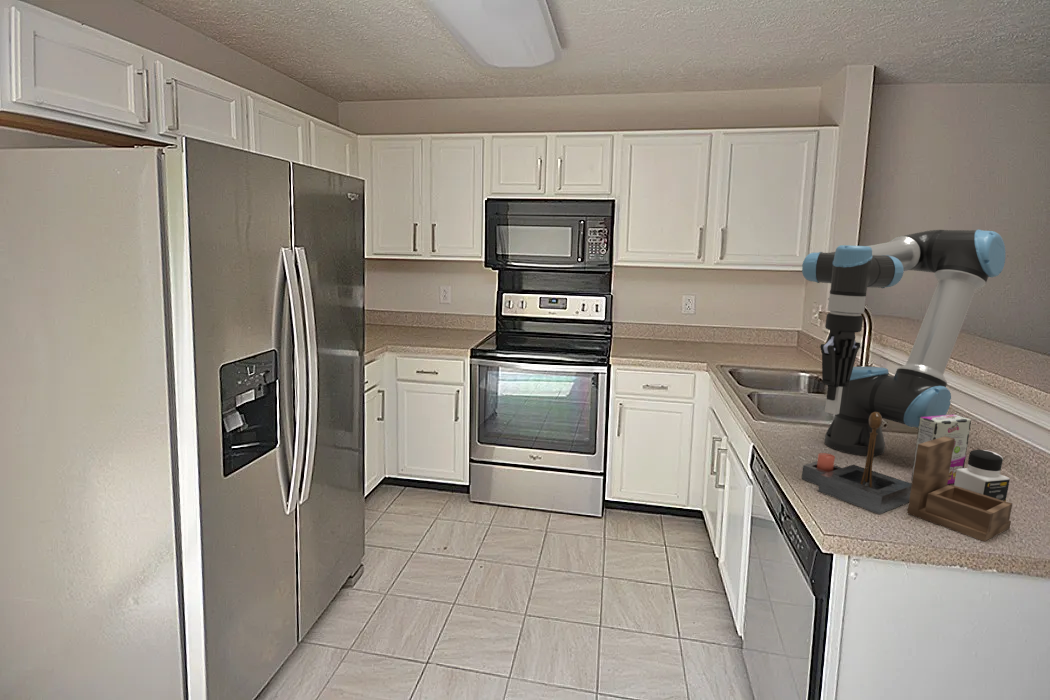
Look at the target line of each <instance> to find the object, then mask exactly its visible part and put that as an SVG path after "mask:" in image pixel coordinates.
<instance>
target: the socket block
mask: <svg viewBox="0 0 1050 700" xmlns="http://www.w3.org/2000/svg"><path fill="white" fill-rule="evenodd" d="M817 461H818V460H817ZM817 461H813V462H810V463H806V464H803V465H802V470H801V471H802V473H801V480H803V481H805V482H809V483H812V484H813V485H816V486H818V490H817V491H818V492H819V493H822V492H823V493H822V494H824V493H825V494H824V495H827V494H828V495H827V496H830V495H831V496H830V497H832V496H834V497H833V498H835V497H836V499H837V498H838V499H837V500H840V499H841V500H840V501H843V502H845V501H846V503H848V502H849V503H848V504H851V503H852V504H851V505H853V504H854V506H856V505H857V506H856V507H859V506H860V507H859V508H861V507H863V508H862V509H864V508H865V510H867V511H869V512H872V513H874V514H877V515H881V514H884V513H887V512H889V511H891V509H892V510H894V509H896V507H897V508H899V507H901V506H900V505H902V506H904V505H906V503H907V504H909V503H908V502H909V499H910V493H911V486H912V482H907V481H905V480H901V479H899V478H896V477H893V476H890V475H887V474H883V473H880V472H877V471H874V470H872V485H873V486H874V488H875V489H874V488H871V487H868V486H865V485H862V484H859V483H861V480H862V477H863V473H864V469H865V467H862V466H859V465H856V464H851V465H849V466H844V467H841V466H837V465H835V464H834V468H833V471H830V472H827V471H824V470H821V469H818V468H817ZM865 476H866V473H865ZM864 481H865V477H864V480H863V482H864ZM869 483H870V477H869ZM903 504H904V505H903ZM893 508H894V509H893Z"/></svg>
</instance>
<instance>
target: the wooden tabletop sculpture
mask: <svg viewBox="0 0 1050 700" xmlns="http://www.w3.org/2000/svg"><path fill="white" fill-rule="evenodd" d="M882 424H883V418H882V416H881V414H880V413H879V412H873V413H871V415H870V417H869V425H870V427H871V428H872V432H870V440H869V447H868V453H867V455H866V458H865V460H866V461H865V464H864V465H865V466H864V468H865V469H864V473H863V477H862V480H861V483H859V484H862V485H865V486H868V487H871V488H874V486H873V485H872V471H873V461H874V456H875V455H874V447H875V440H876V435H878V434H877V433H876V429H878V428H879V427H880V426H881V427H882ZM873 455H874V456H873ZM865 473H866V476H865ZM864 477H865V481H864V482H863V480H864ZM869 477H870V483H869ZM874 489H875V488H874Z"/></svg>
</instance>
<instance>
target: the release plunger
mask: <svg viewBox="0 0 1050 700" xmlns="http://www.w3.org/2000/svg"><path fill="white" fill-rule="evenodd" d="M835 460H836V456H835V455H833V454H831V453H828V452H827V453H826V452H819V453H818V454H817V468H818V469H821V470H824V471H827V472H830V471H833V468H834V465H835Z"/></svg>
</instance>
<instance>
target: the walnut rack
mask: <svg viewBox="0 0 1050 700" xmlns="http://www.w3.org/2000/svg"><path fill="white" fill-rule="evenodd" d="M954 441H955V439H954V438H950V437H946V436H944V437H941V438H937V439H934V440H931V441H927V442H924V443H921V444H918V448H917V455H916V461H915V467H914V474H913V480H912V479H911V483H912V486H911V493H910V499H909V503H908V507H907V511H906V514H907V513H908V515H910V516H913V517H916V518H918V517H919V519H922V520H924V521H927V522H929V521H930V523H933V524H934V525H935V524H936V525H938V526H940V525H941V526H940V527H943V528H947V529H948V528H949V530H951V531H954V532H957V533H959V532H960V533H959V534H963V535H965V536H969V537H971V538H973V539H976V540H979V541H981V542H986V541H988V540H990V539H992V538H995V537H996V536H998V535H1000V534H1001V533H1003V532H1005V531H1007V530H1009V529H1010V528H1011V524H1012V523H1011V522H1012V521H1011V520H1010V519H1011V514H1012V508H1013V503H1011V502H1009V501H1007V500H1006V501H1002V500H999V499H996V498H993V497H990V496H986V495H983V494H980V493H977V492H974V491H970V490H967V489H964V488H961V487H958V486H954V485H947V483H948V477H949V471H950V465H951V459H952V453H953V447H954Z"/></svg>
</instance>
